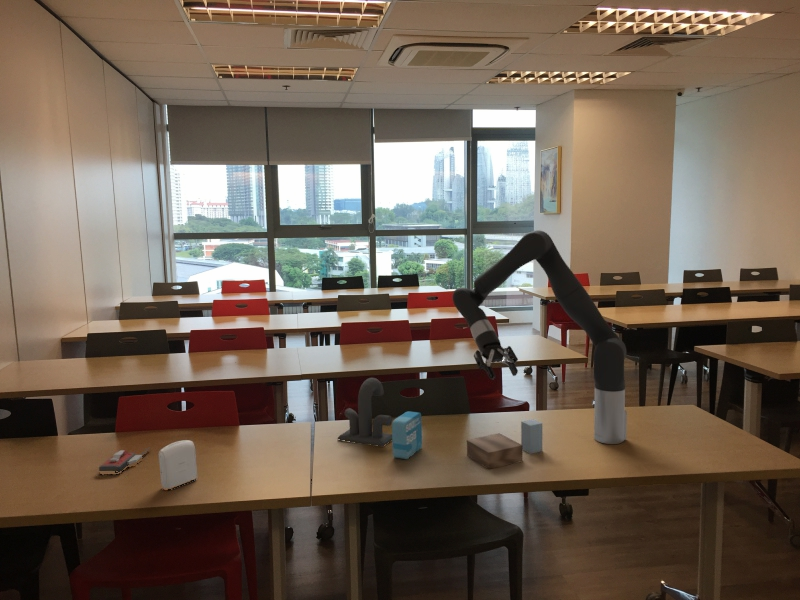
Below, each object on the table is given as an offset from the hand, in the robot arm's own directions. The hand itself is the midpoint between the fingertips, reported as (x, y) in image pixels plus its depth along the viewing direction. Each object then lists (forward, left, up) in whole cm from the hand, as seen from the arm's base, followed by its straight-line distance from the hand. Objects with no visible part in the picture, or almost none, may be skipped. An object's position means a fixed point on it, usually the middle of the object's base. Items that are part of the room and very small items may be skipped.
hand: (504, 376), depth 201 cm
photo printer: (+100, -16, -22) cm, 104 cm away
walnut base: (+12, +12, -21) cm, 27 cm away
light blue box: (+33, -5, -22) cm, 40 cm away
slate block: (-2, +12, -21) cm, 24 cm away
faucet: (+37, -25, -22) cm, 50 cm away
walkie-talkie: (+114, -41, -22) cm, 123 cm away
